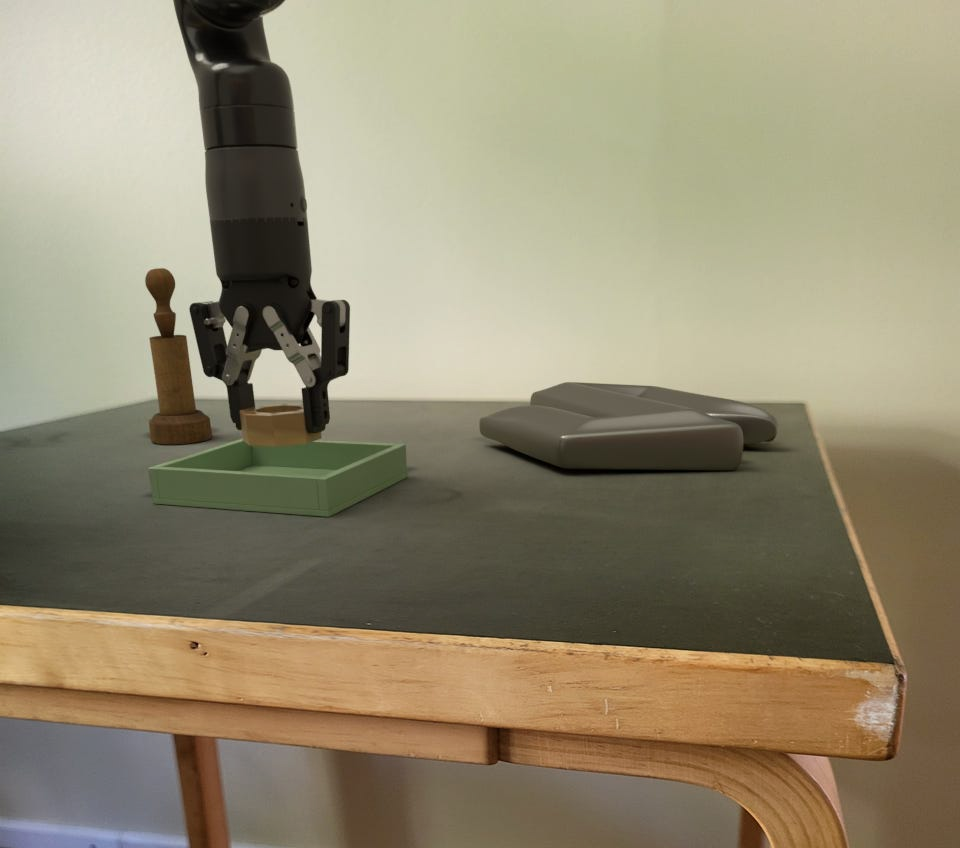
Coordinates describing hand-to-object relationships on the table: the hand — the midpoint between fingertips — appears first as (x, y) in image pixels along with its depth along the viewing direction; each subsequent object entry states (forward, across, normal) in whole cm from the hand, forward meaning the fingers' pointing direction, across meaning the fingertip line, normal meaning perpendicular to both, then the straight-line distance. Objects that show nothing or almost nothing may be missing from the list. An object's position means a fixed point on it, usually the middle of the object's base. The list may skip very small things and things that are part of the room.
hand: (281, 429), depth 82 cm
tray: (+5, 0, 0) cm, 5 cm away
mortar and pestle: (+5, -25, +19) cm, 32 cm away
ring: (+1, 0, 0) cm, 1 cm away
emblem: (+6, +24, +25) cm, 35 cm away
